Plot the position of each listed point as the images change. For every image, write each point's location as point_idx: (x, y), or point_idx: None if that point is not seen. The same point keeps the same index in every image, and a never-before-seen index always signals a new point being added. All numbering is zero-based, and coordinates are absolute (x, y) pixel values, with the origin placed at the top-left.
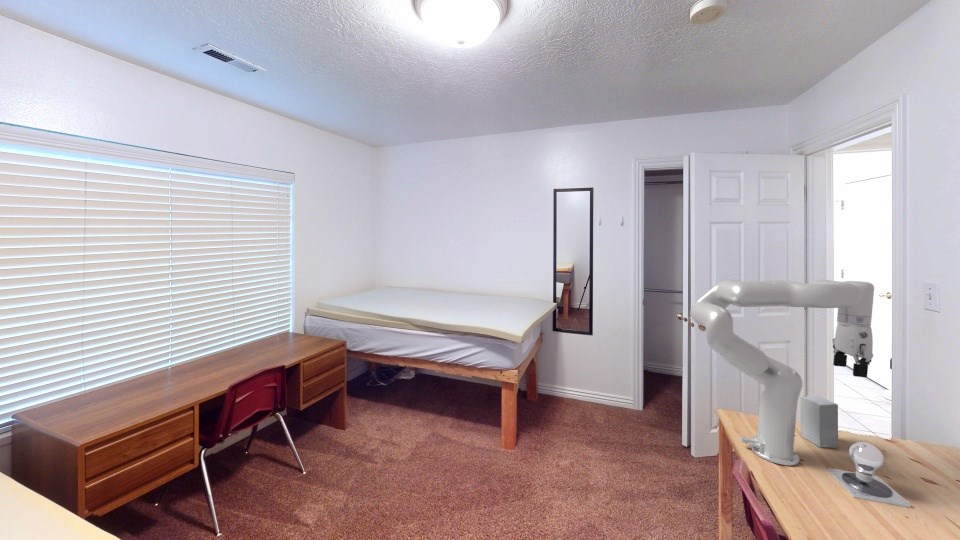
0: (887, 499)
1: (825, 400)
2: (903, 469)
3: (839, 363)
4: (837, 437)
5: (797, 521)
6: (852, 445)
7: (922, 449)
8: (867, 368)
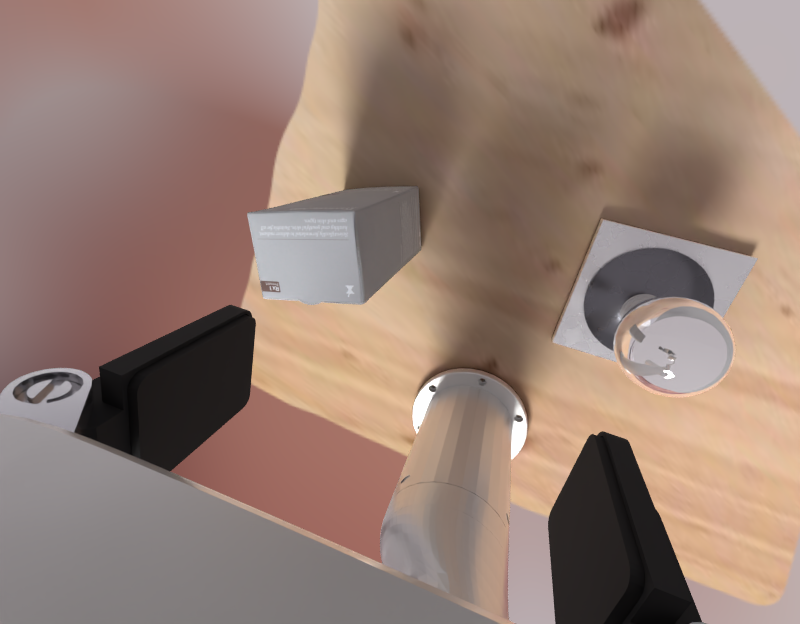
0: (724, 310)
1: (308, 233)
2: (545, 50)
3: (230, 384)
4: (409, 194)
5: (749, 581)
6: (646, 387)
7: None
8: (662, 539)
